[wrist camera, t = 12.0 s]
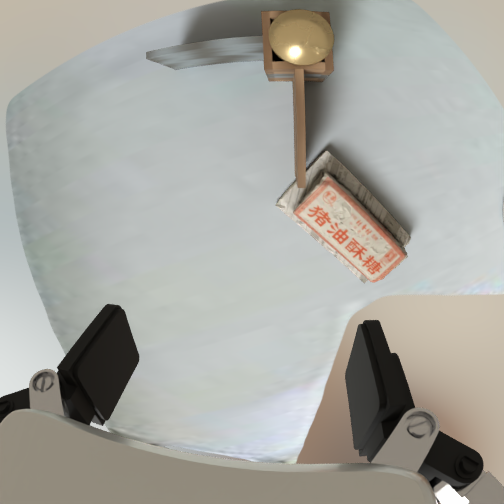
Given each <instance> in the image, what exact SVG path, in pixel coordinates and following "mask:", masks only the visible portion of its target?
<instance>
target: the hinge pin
mask: <svg viewBox="0 0 504 504" xmlns="http://www.w3.org/2000/svg"><path fill="white" fill-rule="evenodd" d="M269 41H270V45H271V47H272V50H273V51H274V53H275V54H276V55H277V56H278V57H279V58H280V59H282V60H283V61H285V62H287V63H289V64H292V65H295V66H311V65H315V64H317V63H319V62H321V61H322V60H324V59H325V58H326V57H327V55H328V54H329V53H330V51H331V49H332V47H333V44H334V34H333V31H332V29H331V27H330V25H329V24H328V22H327V21H326V20H325V19H324V18H323V17H321V16H320V15H318V14H316V13H314V12H311V11H308V10H301V9H295V10H290V11H286V12H284V13H282V14H280V15H279V16H278V17H276V18H275V19H274V21H273V22H272V24H271V26H270V28H269Z"/></svg>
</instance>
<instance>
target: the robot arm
mask: <svg viewBox="0 0 504 504" xmlns="http://www.w3.org/2000/svg"><path fill="white" fill-rule="evenodd" d="M503 220H504V201H503ZM138 362H139V353H138V351H137V348H136V345H135V342H134V339H133V336H132V333H131V330H130V327H129V324H128V320H127V317H126V314H125V311H124V310H123V309H122V308H121V307H120V306H119V305H112V304H107V305H105V307H104V308H103V309H102V310H101V311H100V313H99V314H98V315H97V316H96V318H95V319H94V320H93V321H92V323H91V324H90V325H89V326H88V328H87V329H86V330H85V331H84V333H83V334H82V335H81V336H80V338H79V339H78V340H77V342H76V343H75V344H74V345H73V347H72V348H71V349H70V351H69V352H68V353H67V355H66V356H65V357H64V359H63V360H62V361H61V363H60V364H59V366H58V367H57V368H58V370H59V371H58V372H57V373H56V372H55V371H53V370H51V369H44V370H41V371H38V372H37V373H36V374H34V376H33V377H32V378H31V380H30V384H29V388H27V389H23V390H21V391H18V392H15V393H12V394H9V395H5V396H3V397H1V398H0V504H437V502H441V503H442V504H504V487H503V486H502V484H501V483H500V482H499V481H498V480H497V479H496V478H495V477H494V476H493V475H492V474H491V473H490V472H489V471H488V472H485V471H484V470H483V460H482V457H481V456H480V454H479V453H478V452H476V451H475V450H473V449H471V448H470V447H468V446H466V445H464V444H462V443H460V442H458V441H457V440H455V439H453V438H451V437H450V436H448V435H446V434H444V433H443V432H441V431H439V428H440V425H439V420H438V418H437V416H436V415H435V414H434V413H433V412H431V411H430V410H428V409H425V408H415V406H414V403H413V399H412V396H411V393H410V390H409V386H408V383H407V380H406V377H405V374H404V371H403V368H402V365H401V362H400V359H399V357H398V355H397V354H396V353H391V352H390V350H389V347H388V344H387V341H386V338H385V335H384V332H383V330H382V327H381V324H380V322H379V321H378V320H365V321H364V322H363V324H359V325H358V328H357V332H356V336H355V340H354V344H353V348H352V351H351V355H350V359H349V362H348V366H347V369H346V375H345V379H346V387H347V394H348V401H349V409H350V417H351V425H352V434H353V443H354V449H355V450H358V449H359V456H367V460H368V461H369V462H370V463H350V464H349V463H346V464H344V463H343V464H283V463H263V462H251V461H240V460H232V459H224V458H216V457H209V456H203V455H197V454H192V453H186V452H181V451H177V450H172V449H167V448H163V447H159V446H155V445H151V444H147V443H143V442H139V441H136V440H132V439H129V438H125V437H122V436H119V435H116V434H112V433H109V432H106V431H103V430H101V429H98V428H94V427H92V426H90V423H91V421H92V422H93V423H96V424H99V425H102V426H103V424H104V423H105V421H106V420H108V419H109V418H110V416H111V414H112V412H113V411H114V409H115V407H116V405H117V403H118V401H119V399H120V397H121V395H122V393H123V391H124V389H125V387H126V385H127V383H128V381H129V379H130V378H131V376H132V374H133V372H134V370H135V368H136V366H137V364H138Z"/></svg>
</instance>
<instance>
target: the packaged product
mask: <svg viewBox="0 0 504 504" xmlns="http://www.w3.org/2000/svg"><path fill="white" fill-rule="evenodd" d="M276 206H277V207H278V208H279V209H281V210H282V211H283V212H284V213H285V214H286V215H287V216H289V217H290V218H291V219H292V220H293V221H295V222H296V223H297V224H298V225H299V226H301V227H302V228H303V229H304V230H305V231H306V232H307V233H309V234H310V235H311V236H312V237H313V238H314V239H315V240H317V241H318V242H319V243H320V244H321V245H322V246H323V247H324V248H326V249H327V250H328V251H329V252H331V253H333V254H334V256H335V257H336V258H337V259H338V260H339V261H340V262H341V263H343V264H344V265H345V266H346V267H347V268H348V269H349V270H350V271H352V272H353V273H354V274H355V275H356V276H357V277H358V278H359V279H360V280H361V281H362V282H364V283H365V282H366V281H367V280H370V281H371V282H377V281H379V280H382V279H384V278H385V276H386V275H387V274H389V273H390V272H391V271H392V270H393V269H394V268H396V267H397V266H398V265H400V263H401V262H402V261H403V260H404V259H406V258H407V257H408V256H407V252H406V251H405V248H404V247H405V246H406V245H407V244H409V242H410V238H411V237H410V236H409V235H408V233H407V232H406V231H405V230H404V229H403V228H402V227H401V226H400V225H399V224H398V222H397V221H396V220H395V219H394V218H393V217H392V215H391V214H390V213H389V212H388V211H387V210H386V209H385V208H384V207H383V206H382V205H381V204H380V203H379V201H378V200H377V199H376V198H375V197H374V196H373V195H372V194H371V193H370V191H369V190H368V189H367V188H366V187H365V186H364V185H363V184H362V183H361V182H359V181H358V179H357V178H356V177H355V176H354V175H353V174H352V173H351V172H350V171H349V170H348V169H347V168H346V167H345V166H344V165H343V164H341V163H340V162H339V161H338V160H337V159H336V158H335V157H334V156H333V155H331V154H330V153H329V152H328V151H327V150H326V151H325V152H324V153H322V154H321V155H320V156H319V157H318V158H317V159H316V160H315V161H314V162H313V163H312V165H311V166H310V167H309V168H308V169H307V170H306V188H298V187H297V182H296V181H295V182H294V183H293V184H292V185H291V186H290V187H289V188H288V189H287V191H286V192H285V193H284V194H283V196H282V197H281V198H280V200H279V201H278V202H277V204H276Z"/></svg>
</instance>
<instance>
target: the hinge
mask: <svg viewBox="0 0 504 504" xmlns="http://www.w3.org/2000/svg"><path fill="white" fill-rule="evenodd" d="M284 12H286V11H261V16H262V34H263V36H248V37H236V38H225V39H216V40H209V41H201V42H195V43H189V44H183V45H178V46H172V47H167V48H163V49H158V50H154V51H149V52H146V59H148V60H151V61H154V62H157V63H160V64H162V65H165V66H168V67H170V68H173V69H175V70H177V69H183V68H189V67H196V66H204V65H212V64H221V63H231V62H244V61H264V70H265V72H266V75H267V77H268V80H269V81H293V106H294V149H295V176H296V182H297V187H298V188H306V134H305V94H304V81H314V82H323V81H324V80H325V79H326V78H327V77H328V76H329V75H330V74H331V73H332V72H333V71H334V67H333V51H332V49H331V51H330V53H329V54H328V55H327V57H326V58H325V59H324V60H322V61H321V62H319V63H317V64H315V65H311V66H295V65H292V64H289V63H287V62H285V61H279V62H275V58H274V51H273V50H272V47H271V45H270V41H269V28H270V26H271V24H272V22H273V21H274V19H275V18H276V17H278V16H279V15H280V14H282V13H284ZM311 12H314V13H316V14H318V15H320V16H321V17H323V18H324V19H325V20H326V21H327V22H328V24H329V25H330V15H329V12H316V11H311ZM330 27H331V25H330Z"/></svg>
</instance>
